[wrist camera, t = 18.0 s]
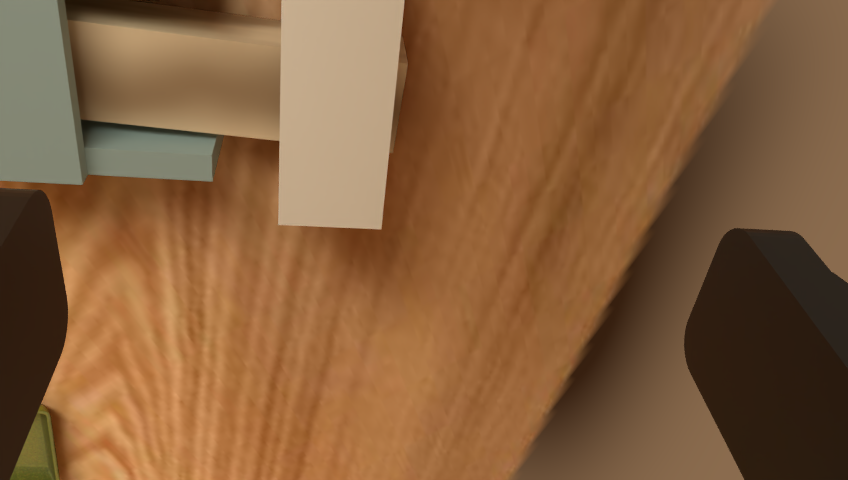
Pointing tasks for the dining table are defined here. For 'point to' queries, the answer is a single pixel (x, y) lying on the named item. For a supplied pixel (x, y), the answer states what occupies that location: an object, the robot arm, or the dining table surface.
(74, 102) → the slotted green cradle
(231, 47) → the cream long bar
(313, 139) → the white bridge block
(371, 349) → the dining table surface
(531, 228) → the dining table surface
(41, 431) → the saucer
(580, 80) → the dining table surface
